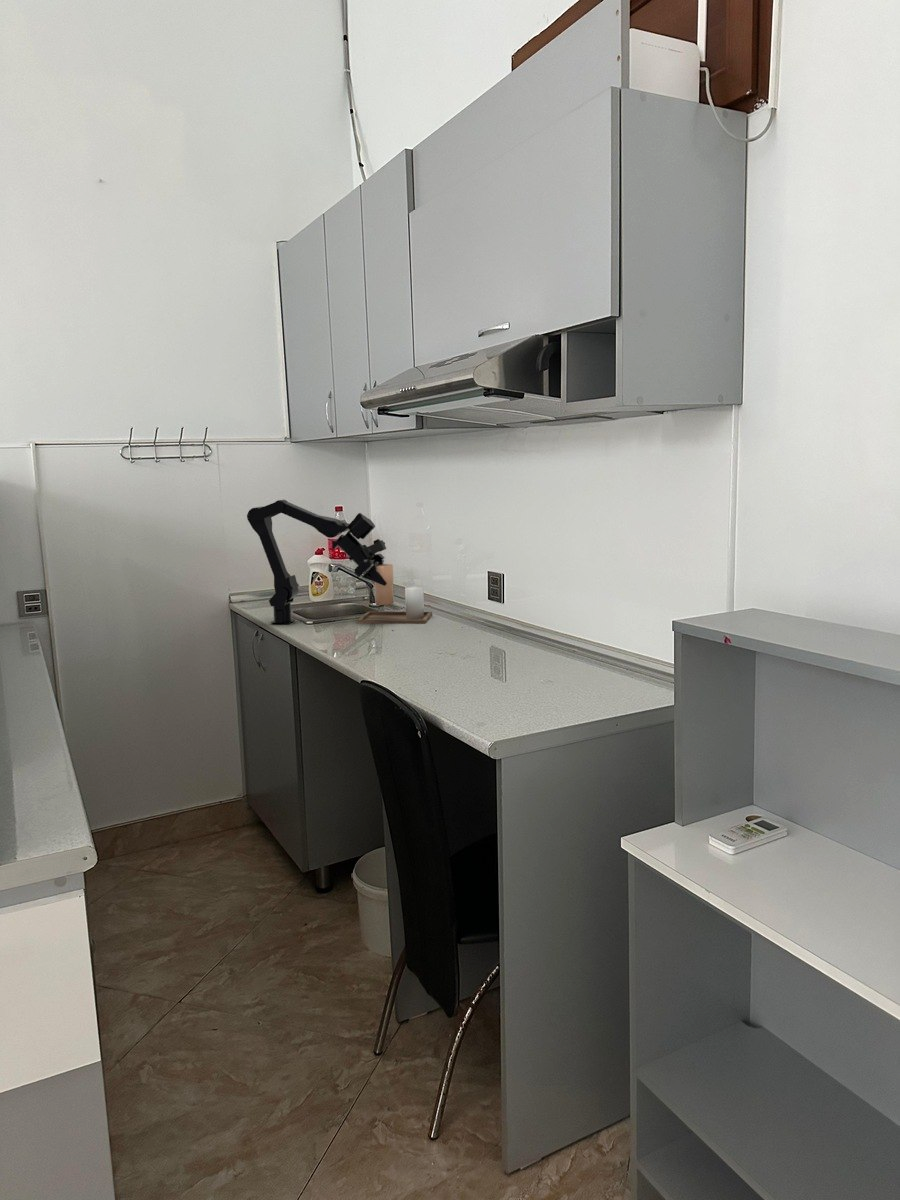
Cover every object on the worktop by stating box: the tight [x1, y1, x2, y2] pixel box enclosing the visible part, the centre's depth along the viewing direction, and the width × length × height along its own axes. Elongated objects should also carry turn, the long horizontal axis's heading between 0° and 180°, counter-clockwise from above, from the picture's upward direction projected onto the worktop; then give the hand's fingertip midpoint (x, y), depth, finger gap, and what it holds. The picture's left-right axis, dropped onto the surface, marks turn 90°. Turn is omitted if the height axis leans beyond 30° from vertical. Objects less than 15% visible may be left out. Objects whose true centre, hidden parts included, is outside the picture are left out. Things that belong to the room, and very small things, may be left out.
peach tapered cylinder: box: [374, 563, 395, 606], centre depth 283 cm, size 6×6×12 cm
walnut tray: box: [356, 611, 433, 625], centre depth 287 cm, size 16×22×2 cm
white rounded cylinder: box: [404, 585, 425, 619], centre depth 288 cm, size 6×6×10 cm
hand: (388, 583), depth 283 cm, fingers closed on peach tapered cylinder, 6 cm apart
